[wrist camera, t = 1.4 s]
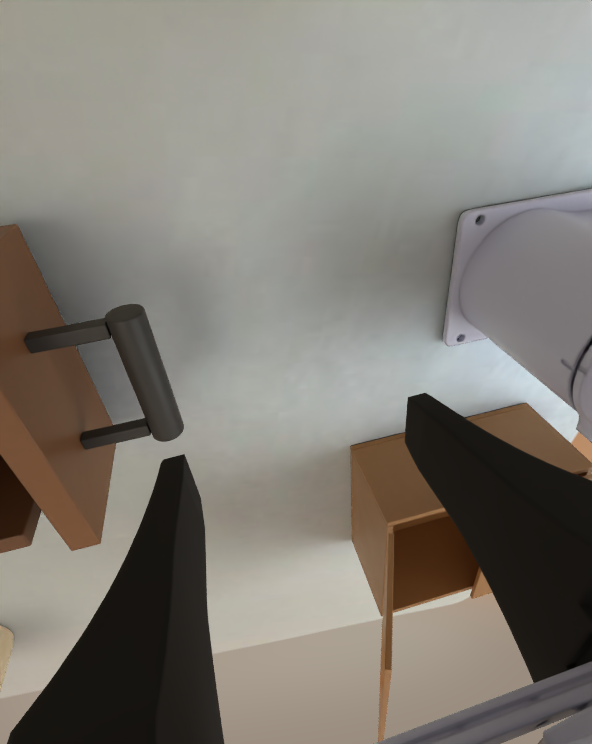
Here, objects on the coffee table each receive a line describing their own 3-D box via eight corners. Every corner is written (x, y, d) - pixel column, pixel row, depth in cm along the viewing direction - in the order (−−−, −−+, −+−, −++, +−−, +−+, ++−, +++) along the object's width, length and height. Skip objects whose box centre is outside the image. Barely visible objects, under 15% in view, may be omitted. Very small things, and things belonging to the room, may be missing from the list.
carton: (352, 540, 36) (385, 626, 31) (350, 445, 29) (392, 533, 24) (496, 500, 38) (552, 574, 33) (526, 402, 31) (604, 474, 26)
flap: (386, 625, 31) (382, 624, 31) (393, 533, 24) (388, 532, 24) (383, 744, 25) (378, 742, 26) (391, 670, 19) (384, 669, 19)
